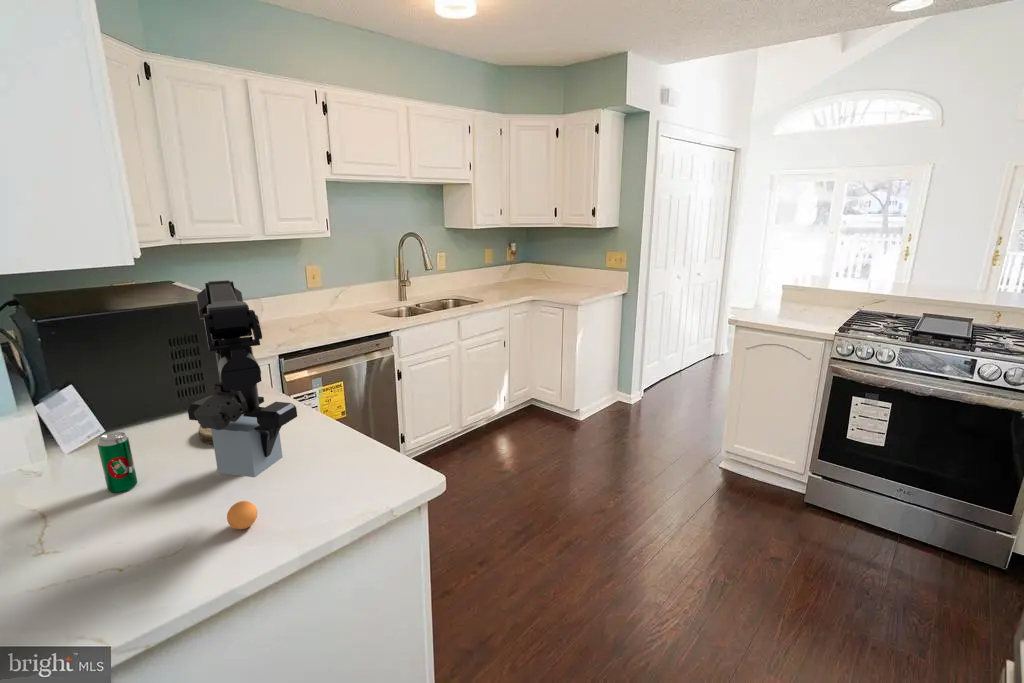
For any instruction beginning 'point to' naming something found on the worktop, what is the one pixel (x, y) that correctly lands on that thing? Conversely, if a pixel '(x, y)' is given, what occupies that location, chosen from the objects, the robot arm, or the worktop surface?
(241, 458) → the matte gray cuboid
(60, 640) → the worktop surface
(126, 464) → the soda can
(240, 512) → the ball
